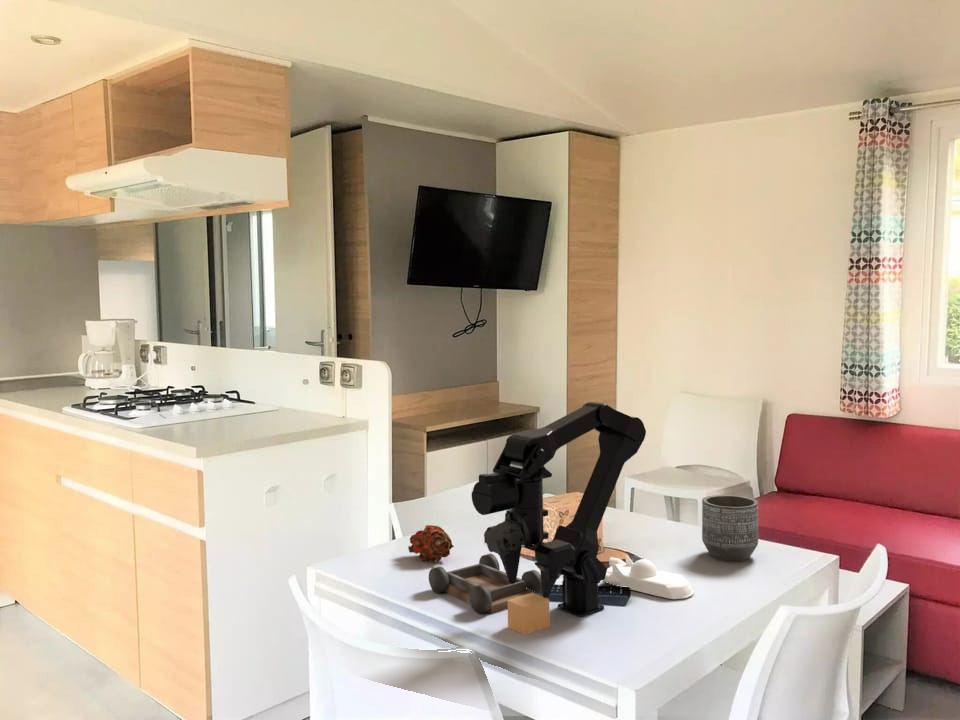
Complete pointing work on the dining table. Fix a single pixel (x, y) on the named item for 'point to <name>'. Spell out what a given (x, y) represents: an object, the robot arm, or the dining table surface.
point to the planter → (730, 526)
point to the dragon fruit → (431, 543)
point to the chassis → (483, 584)
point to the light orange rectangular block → (528, 613)
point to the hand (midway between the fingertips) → (528, 590)
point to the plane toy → (647, 578)
